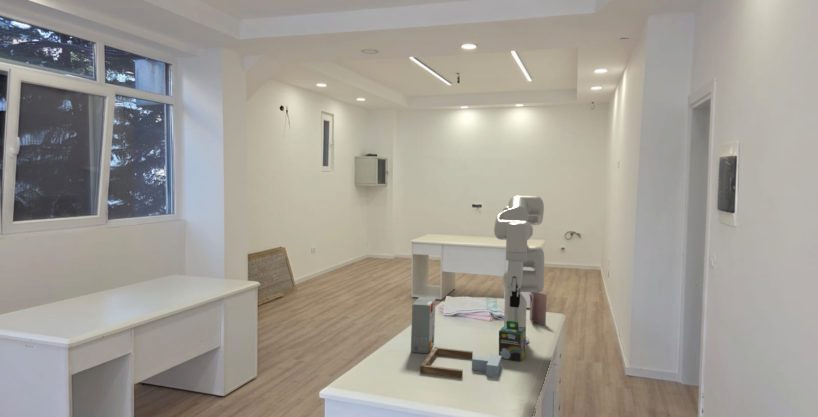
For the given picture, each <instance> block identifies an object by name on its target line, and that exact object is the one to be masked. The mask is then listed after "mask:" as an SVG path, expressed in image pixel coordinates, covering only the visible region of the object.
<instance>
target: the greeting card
mask: <svg viewBox="0 0 818 417" xmlns="http://www.w3.org/2000/svg"><path fill="white" fill-rule="evenodd" d="M528 295H529V298H530V300H529V321H530V323H531V325H532V326H534V323H533V322H536V323H538V322H539V324H542V325H544V326H546V322H547V320H546V319H547V318H546V317H547V294H544V293H542V292H539V293H533V292H529V293H528ZM533 320H534V321H533Z"/></svg>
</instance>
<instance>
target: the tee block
mask: <svg viewBox="0 0 818 417" xmlns="http://www.w3.org/2000/svg"><path fill="white" fill-rule="evenodd" d="M501 357H502V356H500V355H499V354H492V353H491V354H490V356H489V357H486V356H480V355H473V357H472V359H471V370H472V371H479V372H480V371H481V372H485V373H486V374H485V375H486V376H488V377H497V378H498V376H499V372H500V370H501V367H502V358H501Z"/></svg>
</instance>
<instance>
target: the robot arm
mask: <svg viewBox="0 0 818 417" xmlns="http://www.w3.org/2000/svg"><path fill="white" fill-rule="evenodd" d="M544 211H545V205H544V200H543V199H542V198H541V196H538V195H515V196H513V197H511V198H510V200H509V201H508V205H507V206H505V207H504V208H503V209H502V212H500V213H499V214H497V216H496V218H495V222H494V227H493V228H494V229H493V232H494V233H493V234H494V236H495V237H496V239H498V240H501V241H502V240H504V241H505V242H506V244H505V261H506V262H507V271H505V272H504V274H503V279H502V280H503V287H504V288H503V289H504V314H503V316H504V318H503V319H504V321H503V322H504V323H503V327H504V326H505V325H507V321H514V322H518V327H526V328H527V307H528V306H527V304H528V302H527V300H526V298H525V296H524V295H523V293H530V292H533V293H542V292H543V291H544V287H545V253H544V249H543V248H542V247H541V246H535V245H528V240H530V239H531V237H532V236H533V232H534V228H533V226H540V225H541V224H542V222H543V221H544ZM524 268H530V269H531V268H532V270H527V269H525V270H524ZM510 326H515V325H514V324H510ZM529 342H530V338H529V337H528V336H526V344H528V343H529Z"/></svg>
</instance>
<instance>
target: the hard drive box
mask: <svg viewBox="0 0 818 417" xmlns="http://www.w3.org/2000/svg"><path fill="white" fill-rule="evenodd" d="M435 319H436V297H423V296H419V297H418V298H417V299H416V300H415V301H414V302H413V304H412V305H411V333H410V334H411V335H410V352H411V353H420V354H430V352H431V349H432V347H433V346H434V344H435V331H436V330H435V328H436V324H435V323H436V320H435Z"/></svg>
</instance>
